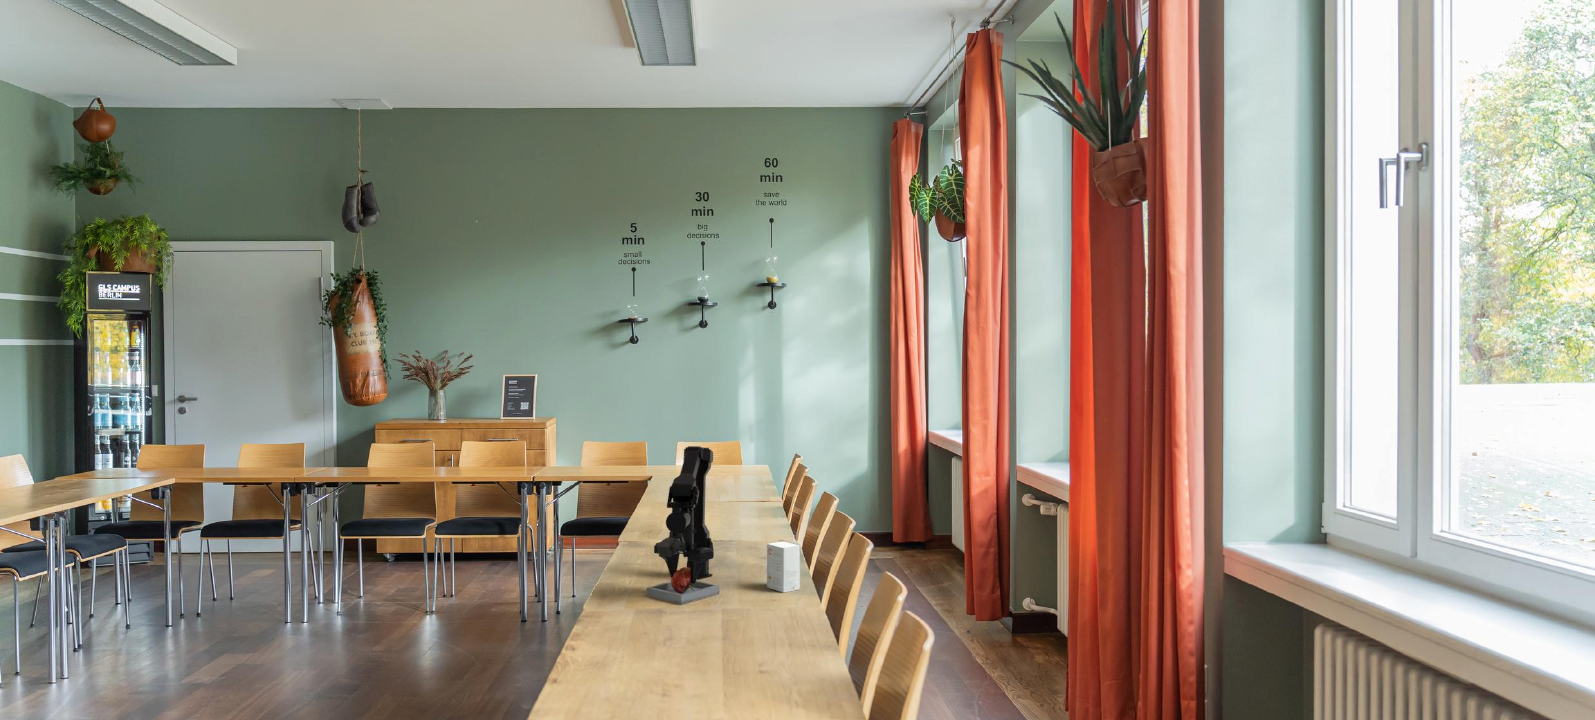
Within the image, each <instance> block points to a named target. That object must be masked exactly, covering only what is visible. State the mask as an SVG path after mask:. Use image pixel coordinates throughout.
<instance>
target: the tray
mask: <svg viewBox="0 0 1595 720" xmlns="http://www.w3.org/2000/svg"><path fill="white" fill-rule="evenodd" d="M691 588H692V589H693V590H694V591H693V590H692V589H691ZM691 588H689V589H687V590H686V591H684V592H683V593H678V592H676V591H674V589H673V588H672V586H671V581H667V582H664V583H660V584H655V585H652V586H648V587H646V597H647V598H651V597H653V598H652V599H655V600H661V601H665V602H668V603H672V604H676V605H685V604H688V603H693V602H696V601H700V600H703V599H707V598H711V597H714V596H717V595H720V585H719V584H714V583H711V582H705V581H700V580H698V579H697V580H696V582H695V583H694V584H692V585H691Z"/></svg>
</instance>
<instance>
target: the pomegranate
mask: <svg viewBox="0 0 1595 720" xmlns="http://www.w3.org/2000/svg"><path fill="white" fill-rule="evenodd" d="M670 571H674V575H673V577H672V578H670V582H671V586H672V588H673V589H674V591H676V592H678V593H683V592H684V591H686V590H687V589H689V588H691V585H692V583H691V571H690V568H687V566H683V567H681V568H679V569H677V570H675V569H672V570H670ZM691 589H692V588H691ZM692 590H693V589H692ZM693 591H694V590H693Z"/></svg>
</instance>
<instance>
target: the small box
mask: <svg viewBox="0 0 1595 720" xmlns="http://www.w3.org/2000/svg"><path fill="white" fill-rule="evenodd" d="M800 546H801V545H800V544H795V543H792V542H787V541H777V542H770V543H767V544H766V587H767V588H766V589H771V590H773V591H777V592H781V593H790V592H794V591H798V590H800V588H801V576H800V575H801V556H800V555H801V551H800V550H801V547H800Z"/></svg>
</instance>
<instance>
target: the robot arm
mask: <svg viewBox="0 0 1595 720" xmlns="http://www.w3.org/2000/svg"><path fill="white" fill-rule="evenodd" d="M713 462H714V452H713V450H712V449H710V447H701V446H700V445H697V446H695V445H692V446H691V445H688V446H685V448H683V463H682V465H681V469H680V473H679V475H678V476H676V477H675V478H673V480H672V483H671V485H670V486H669V489H668V496H667V501H666V503H667V504H666V508H667V509H671V513H669V514H668V515H667V517H666V519H665V525H666V528H667V530H668V531H669V534H668V535H669V536H668V537H665V538H664V539H662V540H661V541H660V542H656V543H655V544H654V547H653V552H654V554H657V555H658V557H659V558H661V559H662V560H663V561H664V562H665V564H666V567H667V569H668V573H669V575H670V577H671V578H672V577H673V575H674V571H670V570H672V569H675V570H678V566H679V560H680V554H681V555H682V556H683V558H687V560H686V567H687V568H690V571H691V583H692V584H694V583H695V582H696V580H697V581H698V580H701V579H705V578H708V577H712V576H713V573H710V560H712V559H714V558H715V549H714V542H713V541H712V538H711V537H710V536H711V535H710V534H711V533H710V530H709V529H708V527H707V525H706V520H705V518H706V483H707V482H706V481H707V478H706V477H707V475H708V473H709V472H710V470H711V468H712V463H713ZM671 578H670V579H671Z"/></svg>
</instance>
